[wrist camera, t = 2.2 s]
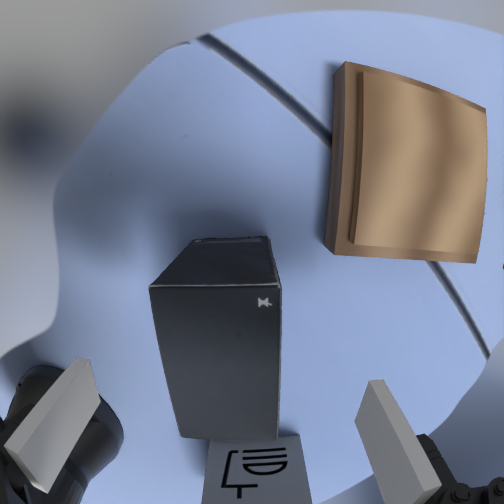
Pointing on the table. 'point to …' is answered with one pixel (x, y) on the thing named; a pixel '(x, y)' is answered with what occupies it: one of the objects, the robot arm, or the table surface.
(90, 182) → the table surface
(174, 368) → the small box
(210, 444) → the icon cube
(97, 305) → the table surface
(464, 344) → the table surface
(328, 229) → the plinth
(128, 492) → the table surface
